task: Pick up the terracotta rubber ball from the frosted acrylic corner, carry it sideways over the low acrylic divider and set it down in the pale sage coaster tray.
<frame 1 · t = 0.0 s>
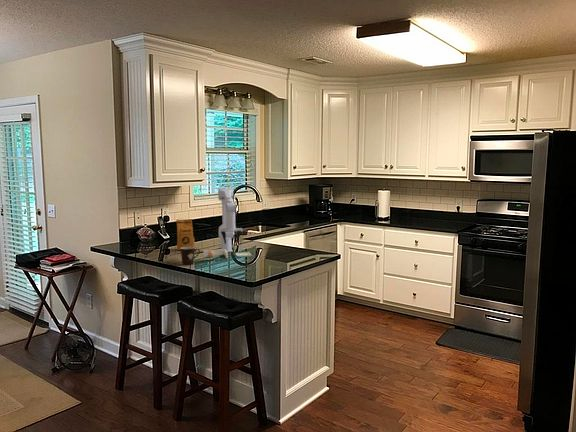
hand: (231, 243, 297), 10 cm above the countertop, fingers open, 7 cm apart
coffee mug: (190, 264, 284), on the countertop
ball: (211, 257, 305), on the countertop
acrylic walls: (226, 256, 307), on the countertop
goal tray: (243, 255, 310), on the countertop
coffee package: (185, 250, 332), on the countertop
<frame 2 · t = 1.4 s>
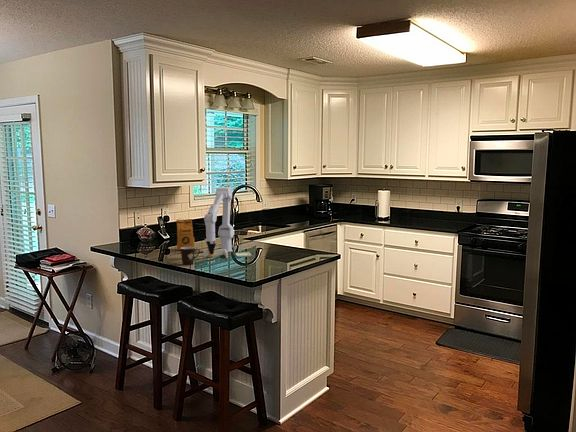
hand: (211, 253, 305), 3 cm above the countertop, fingers open, 7 cm apart
nothing on the countertop moved.
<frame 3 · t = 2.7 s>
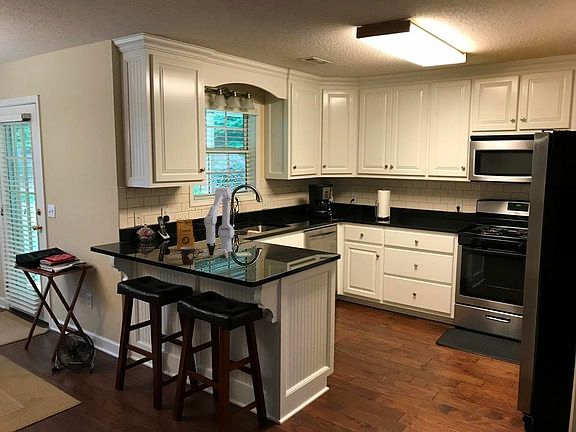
hand: (211, 254, 305), 1 cm above the countertop, fingers closed on ball, 4 cm apart
ball: (211, 257, 305), on the countertop, touching gripper
everything else where it was.
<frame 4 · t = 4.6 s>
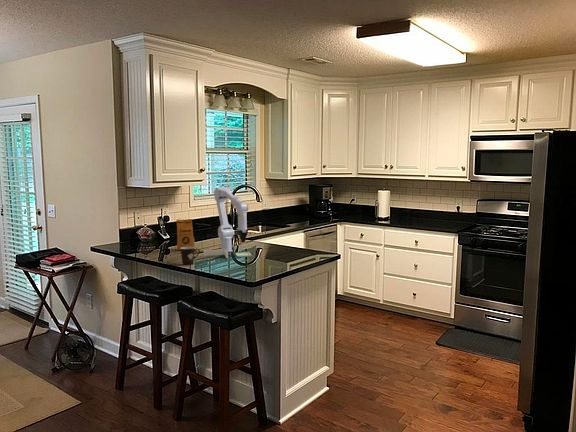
hand: (242, 241, 309), 9 cm above the countertop, fingers closed on ball, 4 cm apart
ball: (242, 244, 309), point 7 cm above the countertop, touching gripper
everything else where it was.
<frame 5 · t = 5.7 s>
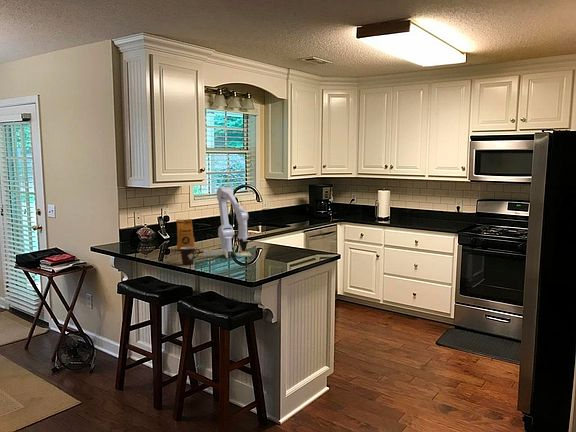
hand: (243, 250, 310), 3 cm above the countertop, fingers closed on ball, 4 cm apart
ball: (243, 252, 310), point 2 cm above the countertop, touching gripper
everything else where it was.
when the fingers open (3 cm above the countertop, at t = 6.6 s): ball stays where it is, resting on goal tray.
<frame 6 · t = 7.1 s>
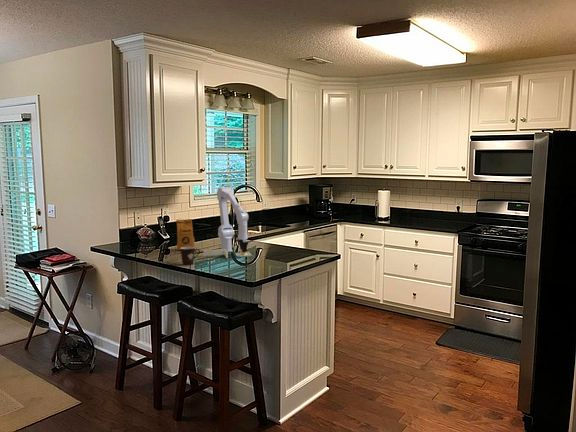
hand: (243, 251, 310), 3 cm above the countertop, fingers open, 7 cm apart
ball: (243, 254, 310), resting on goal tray
everything else where it was.
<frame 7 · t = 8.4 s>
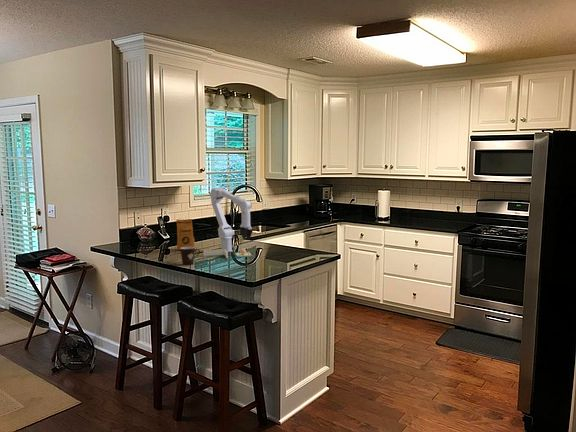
hand: (246, 239, 314), 10 cm above the countertop, fingers open, 7 cm apart
nothing on the countertop moved.
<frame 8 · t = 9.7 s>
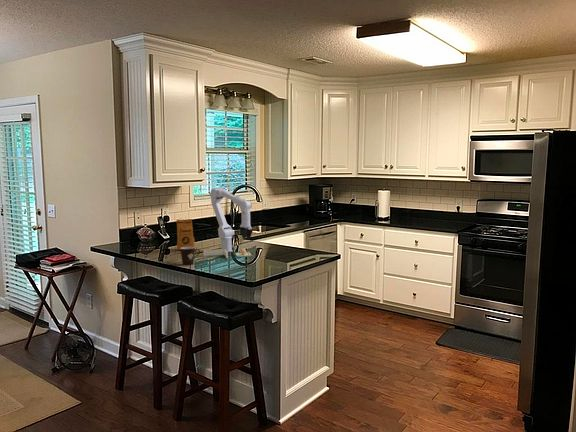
hand: (246, 239, 314), 10 cm above the countertop, fingers open, 7 cm apart
nothing on the countertop moved.
at the end: ball inside the target area on the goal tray (0.1 cm from its centre), point 0.3 cm above the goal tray's base; the gripper is holding nothing; ball inside the target area (0.6 cm from its centre), resting on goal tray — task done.
